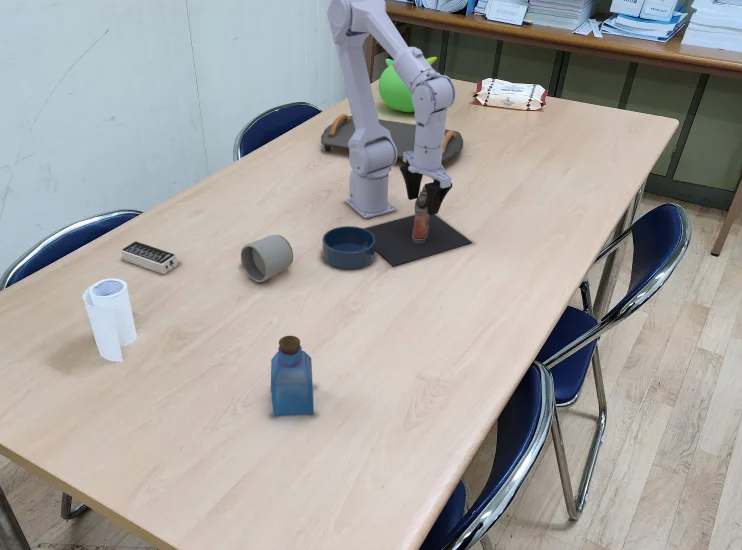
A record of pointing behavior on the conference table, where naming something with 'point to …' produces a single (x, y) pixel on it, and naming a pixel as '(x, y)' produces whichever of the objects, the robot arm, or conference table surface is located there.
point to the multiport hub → (149, 257)
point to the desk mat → (400, 247)
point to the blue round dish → (348, 247)
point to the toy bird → (396, 88)
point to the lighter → (421, 218)
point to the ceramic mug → (266, 257)
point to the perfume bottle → (291, 379)
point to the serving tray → (400, 135)
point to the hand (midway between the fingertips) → (422, 206)
